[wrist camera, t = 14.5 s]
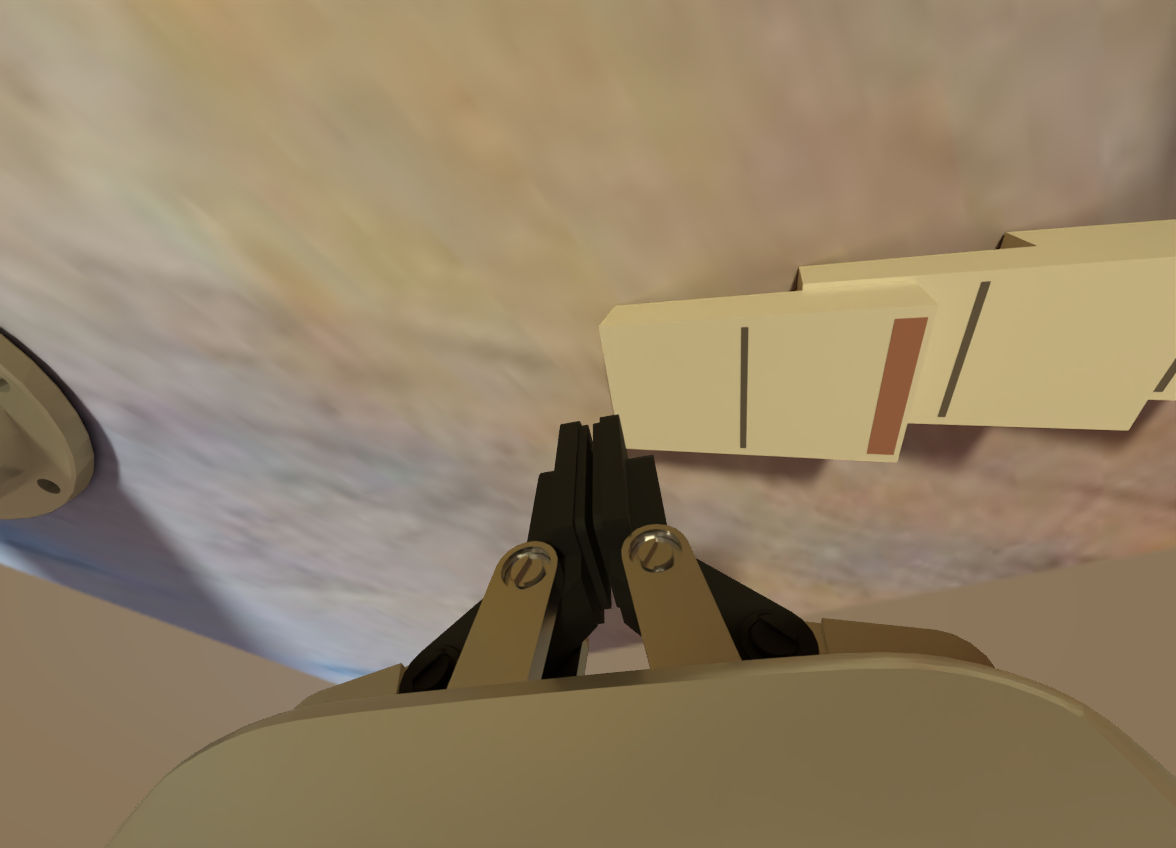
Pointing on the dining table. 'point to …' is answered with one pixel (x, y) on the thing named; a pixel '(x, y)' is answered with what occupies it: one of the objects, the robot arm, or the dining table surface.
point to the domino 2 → (1036, 330)
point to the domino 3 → (1172, 382)
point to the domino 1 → (771, 371)
